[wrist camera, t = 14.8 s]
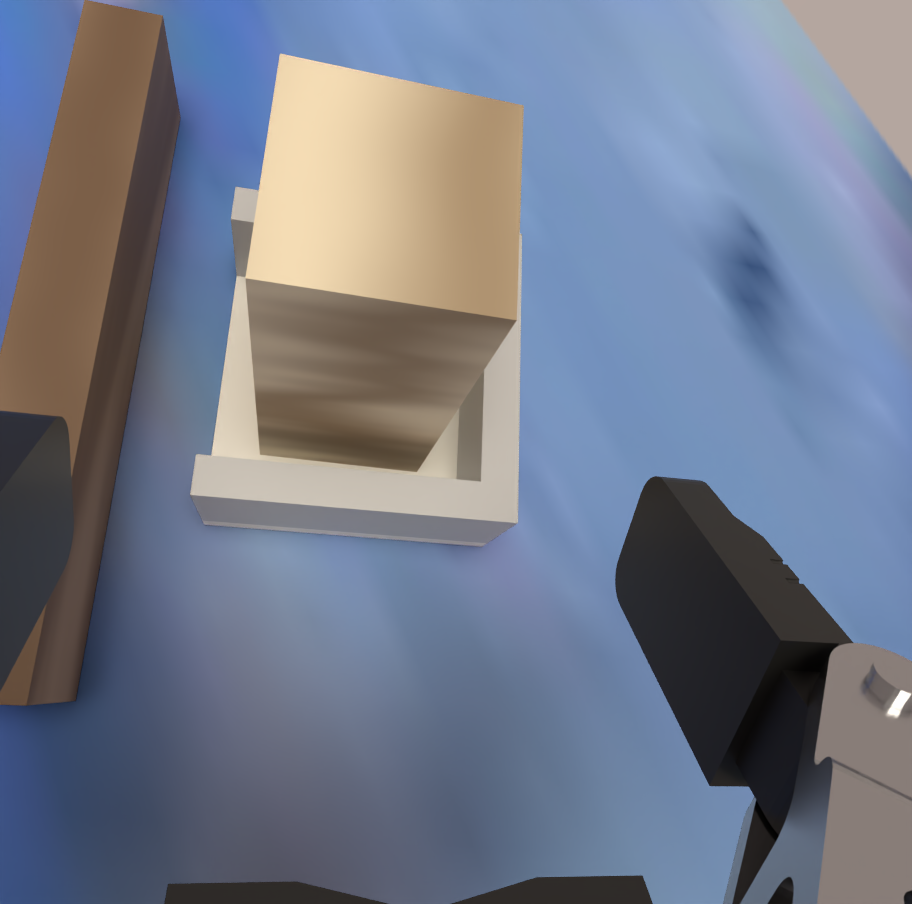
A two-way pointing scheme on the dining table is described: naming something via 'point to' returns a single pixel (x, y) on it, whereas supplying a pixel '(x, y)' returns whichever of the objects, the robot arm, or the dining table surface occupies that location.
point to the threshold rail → (89, 300)
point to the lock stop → (378, 261)
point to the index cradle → (358, 487)
